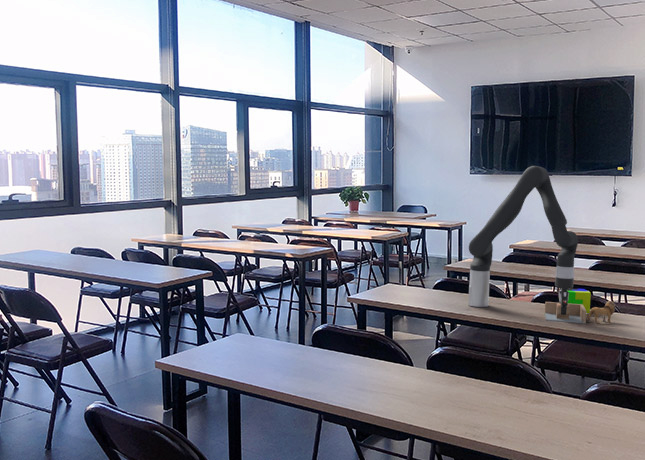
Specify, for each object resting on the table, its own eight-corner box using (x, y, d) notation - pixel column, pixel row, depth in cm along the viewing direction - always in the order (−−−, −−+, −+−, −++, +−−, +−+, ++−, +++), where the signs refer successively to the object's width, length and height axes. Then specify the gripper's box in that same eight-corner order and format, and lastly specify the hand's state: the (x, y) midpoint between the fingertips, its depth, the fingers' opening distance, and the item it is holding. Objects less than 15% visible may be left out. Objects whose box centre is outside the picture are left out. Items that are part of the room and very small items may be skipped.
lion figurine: (607, 319, 278) (608, 299, 277) (617, 322, 273) (618, 302, 272) (583, 322, 272) (584, 301, 271) (592, 324, 267) (594, 304, 266)
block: (568, 319, 274) (569, 306, 274) (556, 318, 276) (557, 305, 275) (568, 317, 279) (568, 303, 278) (556, 316, 280) (556, 302, 280)
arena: (546, 320, 274) (546, 308, 273) (544, 313, 288) (545, 301, 287) (585, 323, 269) (586, 311, 269) (582, 316, 283) (582, 304, 283)
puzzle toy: (582, 309, 299) (583, 289, 298) (589, 314, 289) (590, 292, 288) (561, 308, 300) (562, 288, 299) (567, 313, 290) (568, 291, 289)
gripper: (575, 279, 268) (573, 316, 269) (572, 274, 281) (570, 310, 283) (556, 278, 270) (554, 315, 271) (554, 273, 284) (552, 309, 285)
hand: (562, 312), depth 277 cm, fingers open, 8 cm apart
